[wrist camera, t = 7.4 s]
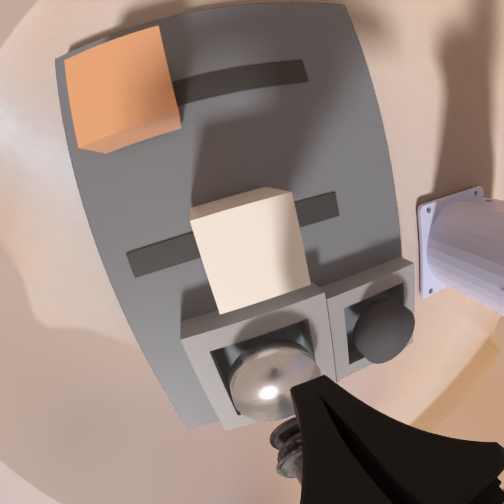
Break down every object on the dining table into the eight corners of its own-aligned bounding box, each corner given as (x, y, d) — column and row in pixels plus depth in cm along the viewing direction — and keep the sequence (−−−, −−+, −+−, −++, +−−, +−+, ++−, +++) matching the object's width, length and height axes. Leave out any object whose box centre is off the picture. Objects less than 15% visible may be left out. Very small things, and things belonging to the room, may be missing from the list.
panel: (334, 13, 14) (359, -8, 11) (391, 339, 22) (415, 360, 19) (63, 66, 12) (40, 48, 9) (187, 415, 20) (189, 448, 17)
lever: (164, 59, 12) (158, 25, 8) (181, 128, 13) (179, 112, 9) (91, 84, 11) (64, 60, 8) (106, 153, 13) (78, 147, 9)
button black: (402, 288, 17) (415, 297, 16) (401, 337, 18) (413, 347, 17) (350, 312, 16) (362, 322, 15) (354, 361, 18) (364, 373, 16)
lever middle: (265, 186, 15) (291, 191, 11) (282, 258, 16) (310, 284, 12) (189, 208, 14) (189, 221, 11) (211, 280, 16) (220, 314, 12)
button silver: (305, 326, 15) (315, 340, 14) (316, 387, 17) (325, 402, 16) (216, 356, 15) (220, 373, 13) (241, 413, 16) (246, 430, 15)
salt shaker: (254, 435, 22) (294, 549, 11) (312, 403, 22) (376, 511, 11) (283, 457, 24) (323, 551, 13) (334, 429, 24) (389, 519, 13)
